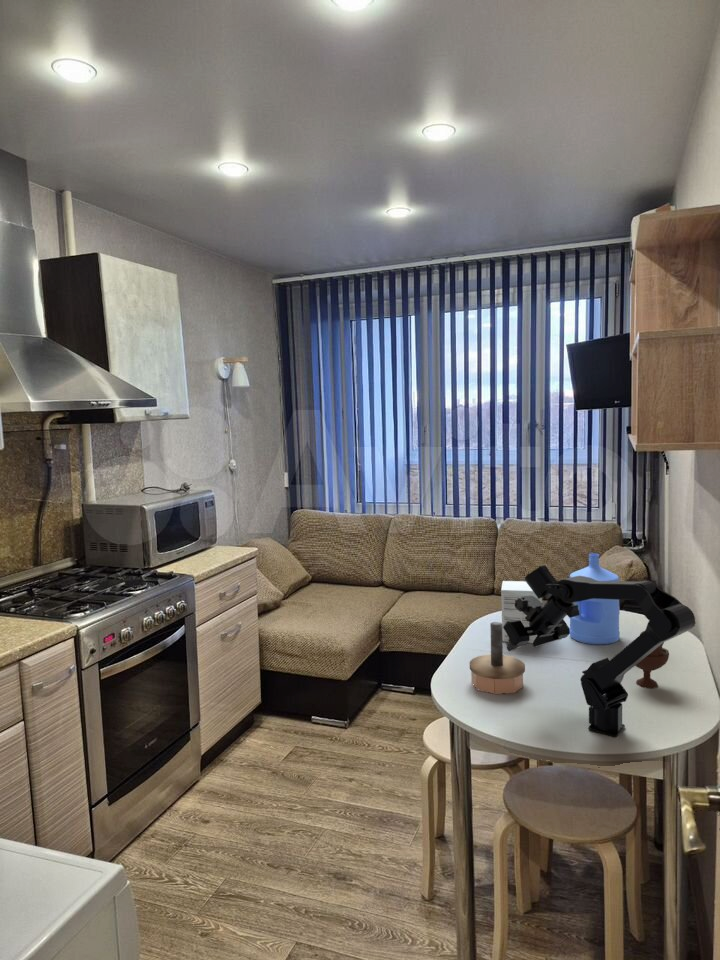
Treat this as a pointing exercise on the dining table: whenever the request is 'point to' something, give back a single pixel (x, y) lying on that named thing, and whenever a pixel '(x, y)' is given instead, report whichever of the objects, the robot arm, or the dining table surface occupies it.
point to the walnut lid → (497, 659)
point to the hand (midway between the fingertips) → (520, 647)
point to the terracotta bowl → (497, 684)
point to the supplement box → (508, 598)
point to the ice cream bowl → (652, 665)
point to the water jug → (596, 610)
